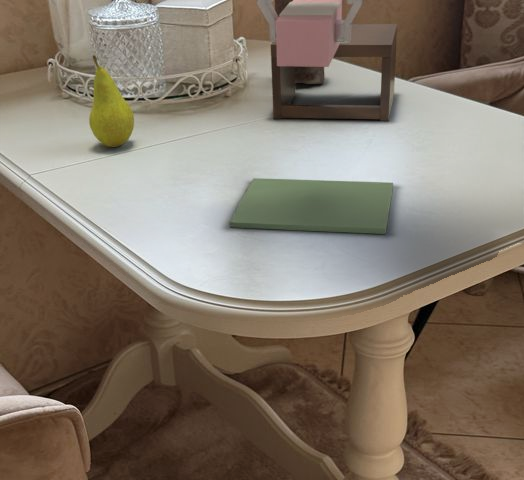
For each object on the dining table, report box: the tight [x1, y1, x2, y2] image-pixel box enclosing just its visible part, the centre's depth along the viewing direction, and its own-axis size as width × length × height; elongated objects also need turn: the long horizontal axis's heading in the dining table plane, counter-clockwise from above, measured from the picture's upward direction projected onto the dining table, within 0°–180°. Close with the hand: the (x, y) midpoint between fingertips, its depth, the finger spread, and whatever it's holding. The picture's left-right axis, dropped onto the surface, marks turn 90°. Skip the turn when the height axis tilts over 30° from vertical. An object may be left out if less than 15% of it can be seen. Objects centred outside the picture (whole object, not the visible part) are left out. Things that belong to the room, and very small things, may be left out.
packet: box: [276, 0, 343, 68], centre depth 75 cm, size 5×10×4 cm, turn 169°
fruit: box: [88, 55, 135, 148], centre depth 101 cm, size 6×6×12 cm
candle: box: [274, 0, 325, 85], centre depth 119 cm, size 8×7×20 cm
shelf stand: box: [270, 23, 398, 122], centre depth 111 cm, size 16×12×10 cm
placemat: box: [229, 177, 394, 235], centre depth 85 cm, size 16×12×1 cm
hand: (311, 41), depth 76 cm, fingers closed on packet, 5 cm apart
